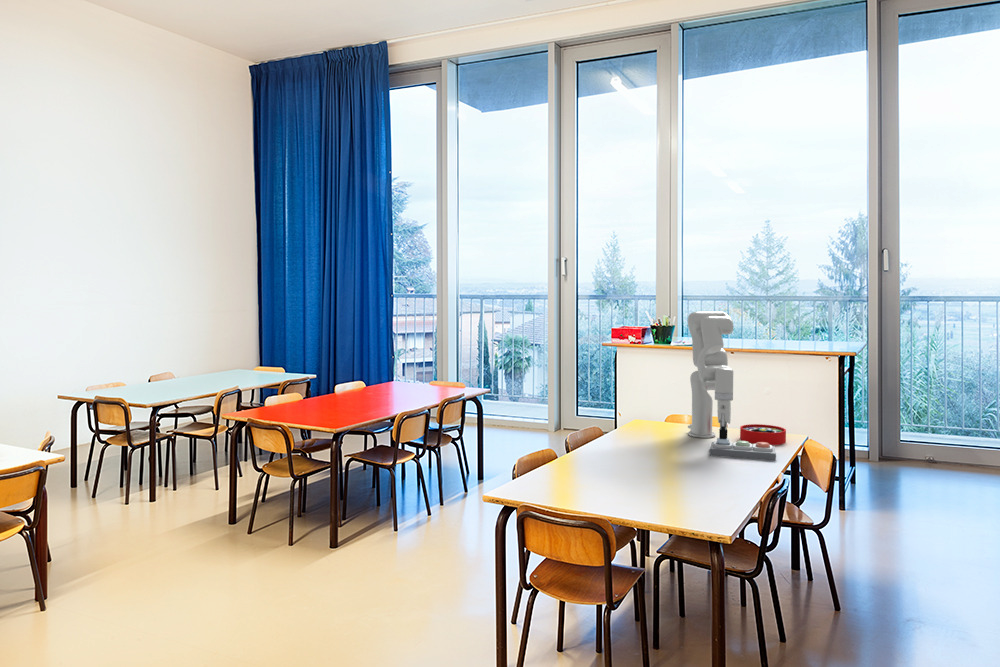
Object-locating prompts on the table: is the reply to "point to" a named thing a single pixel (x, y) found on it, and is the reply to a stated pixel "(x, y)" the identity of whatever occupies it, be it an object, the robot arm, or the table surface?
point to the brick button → (762, 444)
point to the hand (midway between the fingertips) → (723, 438)
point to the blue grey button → (723, 441)
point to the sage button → (742, 443)
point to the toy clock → (763, 434)
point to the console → (743, 451)
